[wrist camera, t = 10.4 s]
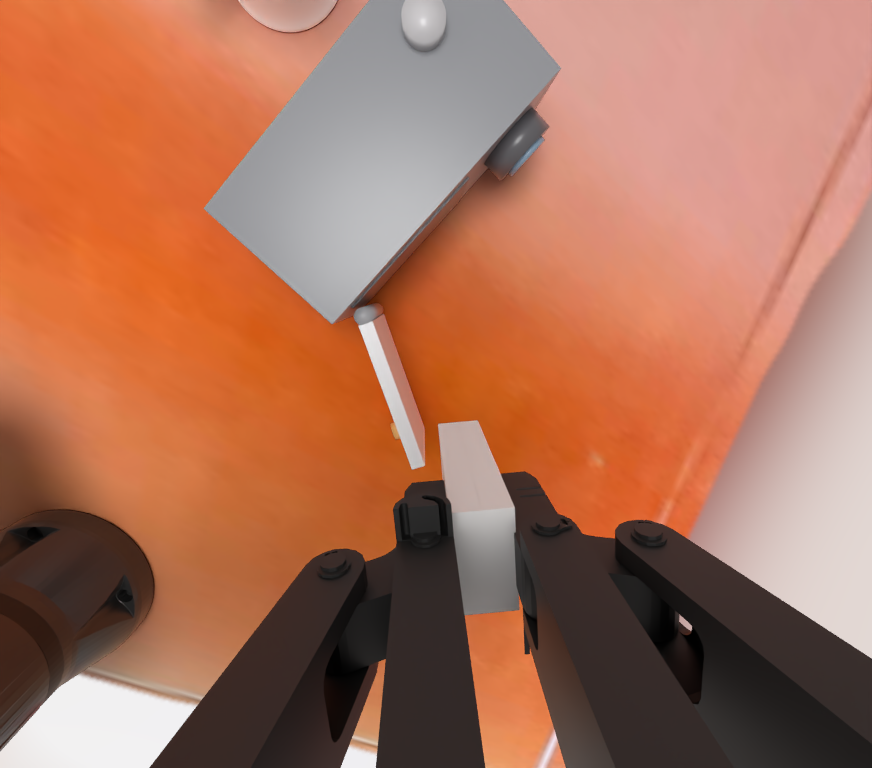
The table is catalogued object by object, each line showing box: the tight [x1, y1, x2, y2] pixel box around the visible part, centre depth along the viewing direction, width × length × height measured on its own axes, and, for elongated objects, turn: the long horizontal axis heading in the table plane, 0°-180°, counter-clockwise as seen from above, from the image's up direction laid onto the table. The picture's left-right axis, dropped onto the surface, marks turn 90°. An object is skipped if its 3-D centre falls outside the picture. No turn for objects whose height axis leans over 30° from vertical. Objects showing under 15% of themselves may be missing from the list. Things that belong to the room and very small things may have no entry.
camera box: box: [204, 0, 561, 324], centre depth 30 cm, size 20×12×11 cm, turn 137°
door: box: [354, 303, 425, 470], centre depth 34 cm, size 12×2×8 cm, turn 18°
